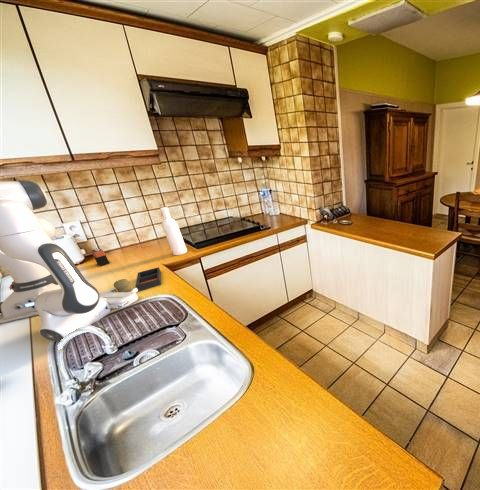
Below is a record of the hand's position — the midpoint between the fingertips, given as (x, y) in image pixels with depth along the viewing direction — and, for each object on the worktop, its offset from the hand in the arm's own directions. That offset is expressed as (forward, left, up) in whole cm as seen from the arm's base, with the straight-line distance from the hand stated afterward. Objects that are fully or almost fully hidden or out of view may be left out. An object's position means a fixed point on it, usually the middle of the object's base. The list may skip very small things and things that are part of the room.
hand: (126, 289), depth 119 cm
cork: (0, -1, -6) cm, 6 cm away
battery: (-17, +66, -6) cm, 69 cm away
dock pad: (+7, +17, -6) cm, 19 cm away
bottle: (+22, +51, -6) cm, 56 cm away
